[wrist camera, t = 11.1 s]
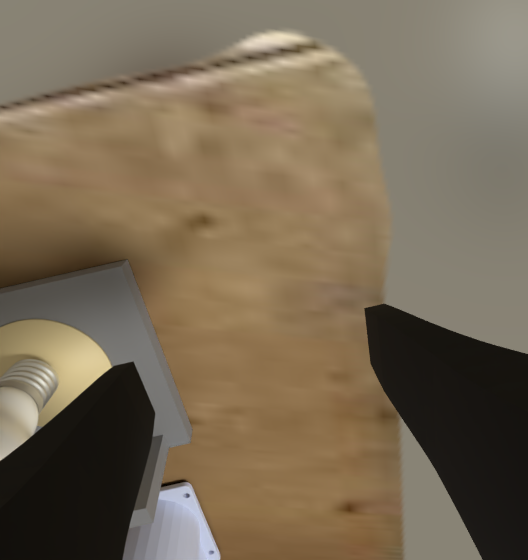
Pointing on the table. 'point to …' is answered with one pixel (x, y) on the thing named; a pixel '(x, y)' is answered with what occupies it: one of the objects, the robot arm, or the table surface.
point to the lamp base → (95, 352)
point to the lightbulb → (23, 401)
